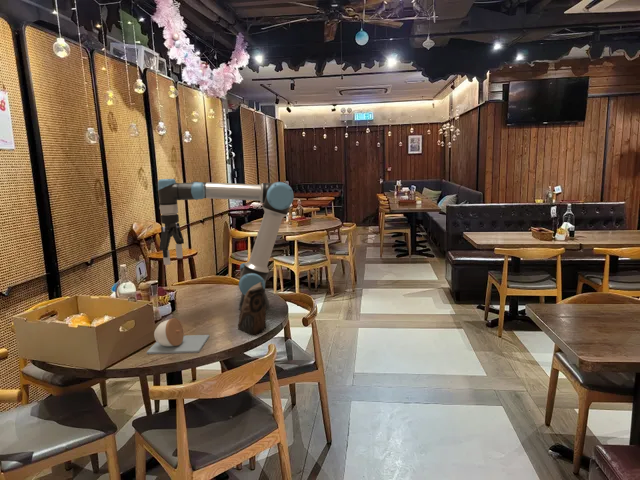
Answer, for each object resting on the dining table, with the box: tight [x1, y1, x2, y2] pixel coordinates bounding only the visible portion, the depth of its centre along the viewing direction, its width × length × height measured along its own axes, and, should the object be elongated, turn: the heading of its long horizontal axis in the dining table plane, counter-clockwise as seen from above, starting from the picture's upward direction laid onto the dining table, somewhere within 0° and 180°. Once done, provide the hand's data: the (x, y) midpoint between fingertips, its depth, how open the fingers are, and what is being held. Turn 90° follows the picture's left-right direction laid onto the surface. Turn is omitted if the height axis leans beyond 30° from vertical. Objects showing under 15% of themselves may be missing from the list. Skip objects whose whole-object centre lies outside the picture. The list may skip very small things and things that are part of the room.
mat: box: [146, 334, 210, 355], centre depth 176 cm, size 20×16×1 cm
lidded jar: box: [153, 317, 185, 347], centre depth 173 cm, size 11×11×9 cm
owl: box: [237, 282, 267, 336], centre depth 187 cm, size 13×13×20 cm
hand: (173, 261), depth 198 cm, fingers open, 13 cm apart
